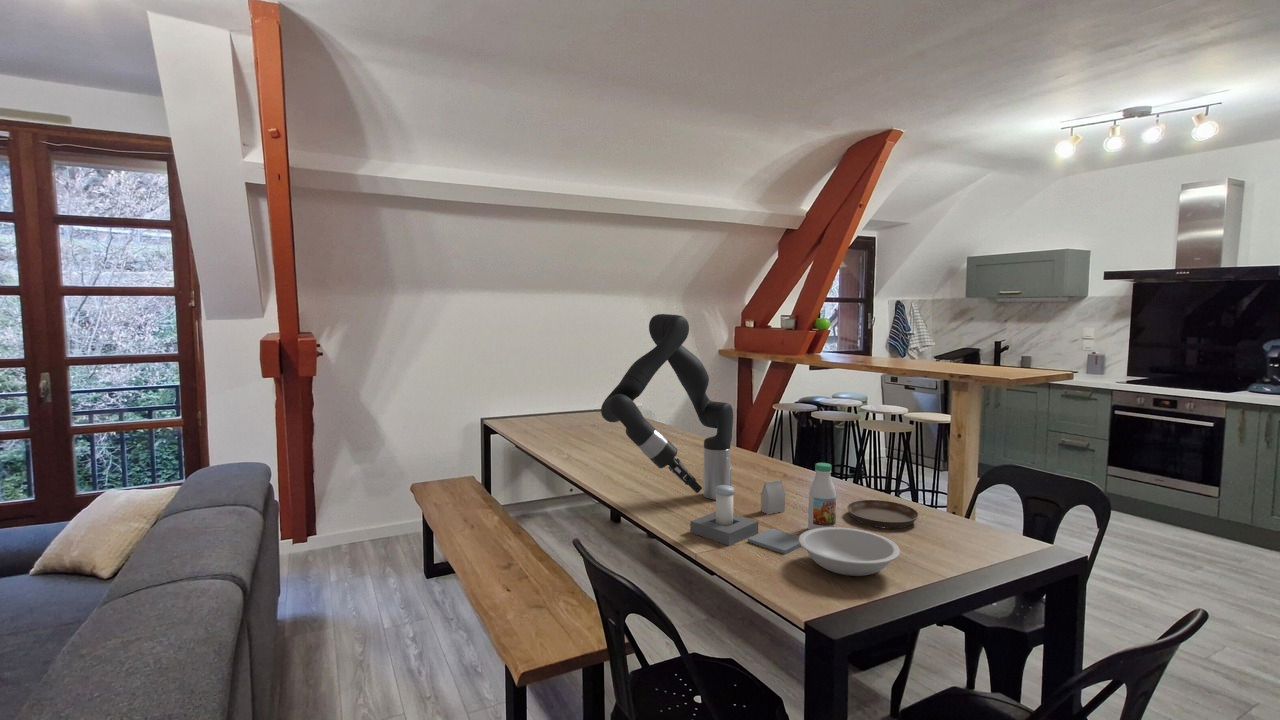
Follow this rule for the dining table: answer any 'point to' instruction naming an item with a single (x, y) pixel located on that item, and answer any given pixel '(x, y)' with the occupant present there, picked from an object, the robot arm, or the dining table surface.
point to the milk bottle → (822, 499)
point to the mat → (776, 540)
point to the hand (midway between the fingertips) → (696, 486)
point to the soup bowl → (849, 550)
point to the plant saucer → (882, 513)
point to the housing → (724, 529)
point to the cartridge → (724, 505)
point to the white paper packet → (773, 497)
